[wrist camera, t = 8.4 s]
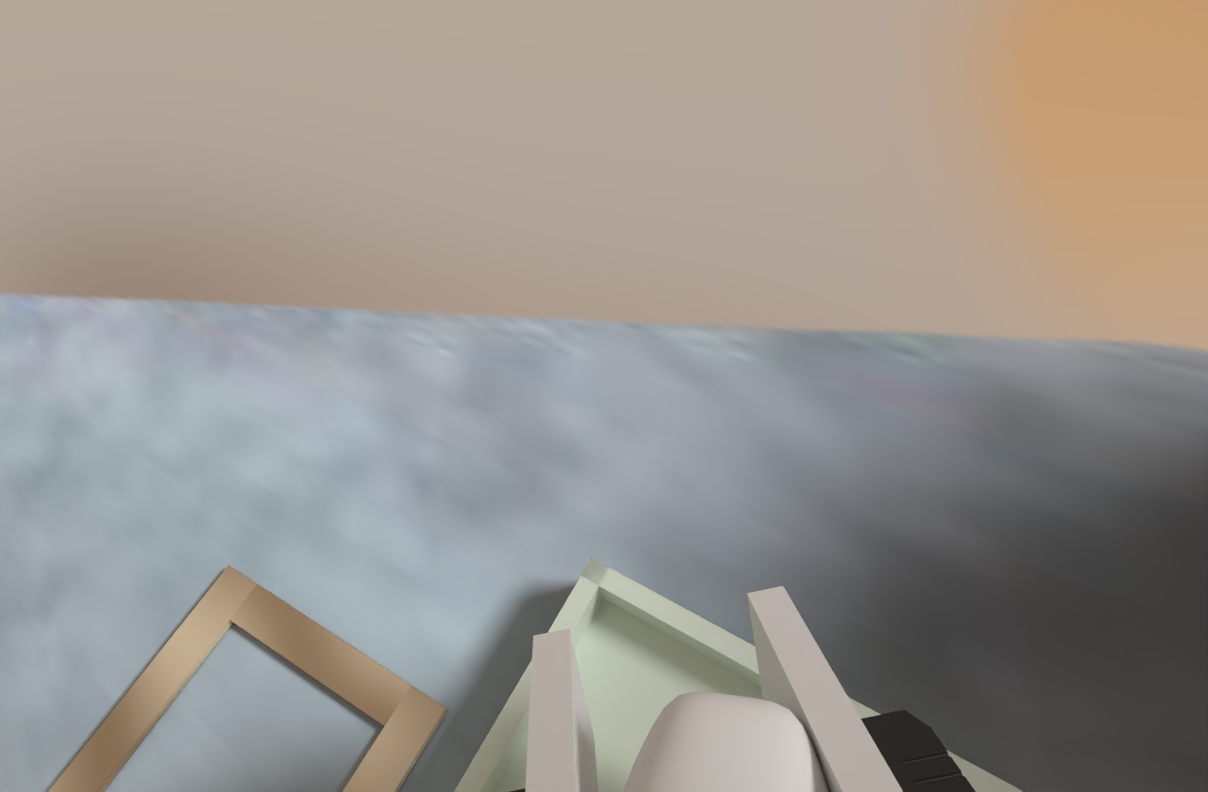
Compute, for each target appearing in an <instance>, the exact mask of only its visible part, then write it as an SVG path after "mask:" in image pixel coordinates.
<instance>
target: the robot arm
mask: <svg viewBox="0 0 1208 792" xmlns="http://www.w3.org/2000/svg"><path fill="white" fill-rule="evenodd" d="M747 597H748V603H749V610H750V616H751V623H752V630H753V636H754V643H755V649H756V656H757V662H758V669H759V676H760V682H761V689H762V695H763V700H767V701H772V702H775V703H777V704H779V705H781V706H783V707H785V708H787V709H789V710H790V711H791V712H792V713H793V714H794V715H795V717H796V718H797V719H798V720H799V721H800V723H801V724H802V725H803V727H804V729H805V731H806V733H807V735H808V737H809V739H810V741H811V743H812V745H813V748H814V750H815V753H816V755H817V758H818V760H819V763H820V765H821V768H822V771H823V774H824V777H825V780H826V783H827V786H828V789H829V792H976V791H975V790H974V788H973V787H972V786H971V784H970V783H969V781H968V780H967V779H966V777H965V776H963V775H962V772H961V770H960V769H959V767H958V766H957V764H956V763H955V762H954V760H953V759H952V757H951V756H950V757H949V755H948V752H947V750H946V749H945V747H944V746H943V745H942V743H941V742H940V740H939V739H938V737H937V736H936V735H935V733H934V732H933V730H932V729H931V728H930V727H929V726H927V725H926V724H924V723H923V722H921V721H920V720H918V719H917V718H915V717H914V716H913V715H911V714H910V713H908V712H907V711H905V710H902V711H897V712H892V713H887V714H882V715H877V716H872V717H867V718H862V719H860V717H859V715H858V713H857V712H856V710H855V708H854V707H853V705H852V703H851V701H850V700H849V698H848V696H847V695H846V693H845V691H844V689H843V688H842V686H841V684H840V683H839V681H838V679H837V677H836V676H835V674H834V672H833V671H832V669H831V667H830V665H829V664H828V662H827V660H826V659H825V657H824V655H823V653H822V652H821V650H820V648H819V647H818V645H817V643H816V641H815V640H814V638H813V636H812V635H811V633H810V631H809V629H808V628H807V626H806V624H805V623H804V621H803V619H802V617H801V616H800V614H799V612H798V611H797V609H796V607H795V605H794V604H793V602H792V600H791V599H790V597H789V595H788V593H787V592H786V590H785V588H784V587H783V586H780V587H775V588H770V589H765V590H760V591H755V592H750V593H747ZM509 792H598V782H597V768H596V754H595V740H594V735H593V731H592V726H591V722H590V717H589V713H588V708H587V704H586V699H585V695H584V690H583V686H582V681H581V677H580V672H579V668H578V663H577V659H576V654H575V650H574V645H573V641H572V636H571V632H570V628H569V629H564V630H559V631H554V632H549V633H544V634H539V635H534V636H533V651H532V671H531V690H530V709H529V729H528V748H527V768H526V787H525V788H524V789H519V790H514V791H509Z"/></svg>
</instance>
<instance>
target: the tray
mask: <svg viewBox="0 0 1208 792" xmlns="http://www.w3.org/2000/svg"><path fill="white" fill-rule="evenodd" d="M569 628H570V632H571V636H572V641H573V645H574V650H575V654H576V659H577V663H578V668H579V672H580V677H581V681H582V686H583V690H584V695H585V699H586V704H587V708H588V713H589V717H590V722H591V726H592V731H593V735H594V740H595V754H596V768H597V782H598V792H623V791H624V788H625V785H626V782H627V780H628V777H629V775H630V772H631V769H632V767H633V764H634V762H635V760H636V758H637V755H638V753H639V751H640V749H641V747H642V745H643V743H644V741H645V739H646V737H647V735H648V733H649V731H650V729H651V728H652V726H653V724H654V722H655V721H656V719H657V718H658V716H659V715H660V713H661V712H662V710H663V708H664V707H665V706H666V705H668V704H669V703H670V702H671V701H672V700H673V699H675V698H676V697H677V696H678V695H682V694H687V693H692V692H710V693H720V694H729V695H737V696H744V697H751V698H757V699H762V700H763V695H762V689H761V682H760V676H759V669H758V662H757V656H756V649H755V646H753V645H751V644H750V643H748V642H746V641H744V640H742V639H740V638H738V637H737V636H735V635H733V634H731V633H729V632H727V631H725V630H724V629H722V628H720V627H718V626H716V625H714V624H713V623H711V622H709V621H707V620H705V619H703V618H701V617H700V616H698V615H696V614H694V613H692V612H690V611H688V610H687V609H685V608H683V607H681V606H679V605H677V604H676V603H674V602H672V601H670V600H668V599H666V598H664V597H663V596H661V595H659V594H657V593H655V592H653V591H651V590H650V589H648V588H646V587H644V586H642V585H640V584H638V583H637V582H635V581H633V580H631V579H629V578H627V577H626V576H624V575H622V574H620V573H618V572H616V571H614V570H613V569H611V568H609V567H607V566H605V565H603V564H601V563H600V562H598V561H596V560H594V559H592V558H591V560H590V561H589V563H588V565H587V566H586V568H585V570H584V572H583V573H582V575H581V577H580V578H579V580H578V582H577V583H576V585H575V587H574V589H573V590H572V592H571V594H570V595H569V597H568V599H567V600H566V602H565V604H564V606H563V607H562V609H561V611H560V612H559V614H558V616H557V617H556V619H555V621H554V623H553V624H552V626H551V628H550V629H549V631H548V633H549V632H554V631H559V630H564V629H569ZM531 671H532V660H531V662H530V663H529V665H528V667H527V668H526V670H525V672H524V673H523V675H522V677H521V679H520V680H519V682H518V684H517V685H516V687H515V689H514V690H513V692H512V694H511V696H510V697H509V699H508V701H507V702H506V704H505V706H504V707H503V709H502V711H501V713H500V714H499V716H498V718H497V719H496V721H495V723H494V724H493V726H492V728H491V730H490V731H489V733H488V735H487V736H486V738H485V740H484V741H483V743H482V745H481V746H480V748H479V750H478V752H477V753H476V755H475V757H474V758H473V760H472V762H471V763H470V765H469V767H468V769H467V770H466V772H465V774H464V775H463V777H462V779H461V780H460V782H459V784H458V786H457V787H456V789H455V791H454V792H509V791H514V790H519V789H524V788H525V787H526V768H527V748H528V729H529V709H530V690H531ZM848 698H849V700H850V701H851V703H852V705H853V707H854V708H855V710H856V712H857V713H858V715H859V717H860V719H862V718H867V717H872V716H877V715H881V714H879V713H877V712H875V711H874V710H872V709H870V708H868V707H866V706H864V705H863V704H861V703H859V702H857V701H855V700H853V699H851V698H850V697H848ZM947 752H948V755H949V757H950V756H951V757H952V759H953V760H954V762H955V763H956V764H957V766H958V767H959V769H960V770H961V772H962V775H963V776H965V777H966V779H967V780H968V781H969V783H970V784H971V786H972V787H973V788H974V790H975V791H976V792H1024V791H1022V790H1020V789H1018V788H1016V787H1014V786H1012V785H1011V784H1009V783H1007V782H1005V781H1003V780H1001V779H1000V778H998V777H996V776H994V775H992V774H990V773H988V772H987V771H985V770H983V769H981V768H979V767H977V766H975V765H974V764H972V763H970V762H968V761H966V760H964V759H962V758H961V757H959V756H957V755H955V754H953V753H951V752H950V751H948V750H947Z"/></svg>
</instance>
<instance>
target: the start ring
mask: <svg viewBox="0 0 1208 792" xmlns="http://www.w3.org/2000/svg"><path fill="white" fill-rule="evenodd" d="M233 623H235V624H236V625H238V626H239V627H241V628H242V629H244V630H245V631H247V632H248V633H249V634H251V635H252V636H254V637H255V638H257V639H258V640H260V641H261V642H263V643H264V644H265V645H267V646H268V647H270V648H271V649H273V650H274V651H276V652H277V653H279V654H280V655H281V656H283V657H284V658H286V659H287V660H289V661H290V662H292V663H293V664H294V665H296V666H297V667H299V668H300V669H302V670H303V671H305V672H306V673H308V674H309V675H310V676H312V677H313V678H315V679H316V680H318V681H319V682H321V683H322V684H323V685H325V686H326V687H328V688H329V689H331V690H332V691H334V692H335V693H337V694H338V695H339V696H341V697H342V698H344V699H345V700H347V701H348V702H350V703H351V704H352V705H354V706H355V707H357V708H358V709H360V710H361V711H363V712H364V713H366V714H367V715H368V716H370V717H371V718H373V719H374V720H376V721H377V722H379V723H380V724H382V725H383V726H384V728H383V729H382V731H381V733H380V734H379V736H378V737H377V739H376V740H375V742H374V743H373V745H372V747H371V748H370V750H369V751H368V753H367V754H366V756H365V757H364V759H363V760H362V762H361V764H360V765H359V767H358V768H357V770H356V771H355V773H354V774H353V776H352V777H351V779H350V781H349V782H348V784H347V785H346V787H345V788H344V790H343V791H342V792H398V790H399V789H400V787H401V786H402V784H403V782H404V781H405V779H406V777H407V776H408V774H409V773H410V771H411V769H412V768H413V766H414V765H415V763H416V761H417V760H418V758H419V756H420V755H421V753H422V752H423V750H424V748H425V747H426V745H427V744H428V742H429V740H430V739H431V737H432V735H433V734H434V732H435V731H436V729H437V727H438V726H439V724H440V722H441V721H442V719H443V718H444V716H445V714H446V713H447V711H448V709H446V708H445V707H443V706H442V705H440V704H439V703H437V702H436V701H434V700H433V699H431V698H430V697H428V696H427V695H425V694H424V693H422V692H421V691H419V690H418V689H416V688H415V687H413V686H411V685H410V684H408V683H407V682H405V681H404V680H402V679H401V678H399V677H398V676H396V675H395V674H393V673H392V672H390V671H389V670H387V669H386V668H384V667H383V666H381V665H380V664H378V663H377V662H375V661H373V660H372V659H370V658H369V657H367V656H366V655H364V654H363V653H361V652H360V651H358V650H357V649H355V648H354V647H352V646H351V645H349V644H348V643H346V642H345V641H343V640H342V639H340V638H339V637H337V636H335V635H334V634H332V633H331V632H329V631H328V630H326V629H325V628H323V627H322V626H320V625H319V624H317V623H316V622H314V621H313V620H311V619H310V618H308V617H307V616H305V615H304V614H302V613H301V612H299V611H297V610H296V609H294V608H293V607H291V606H290V605H288V604H287V603H285V602H284V601H282V600H281V599H279V598H278V597H276V596H275V595H273V594H272V593H270V592H269V591H267V590H266V589H264V588H263V587H261V586H260V585H258V584H256V583H255V582H253V581H252V580H250V579H249V578H247V577H246V576H244V575H243V574H241V573H240V572H238V571H237V570H235V569H234V568H232V567H230V566H229V565H228V567H227V568H226V569H225V570H224V572H223V573H222V574H221V575H220V577H219V578H218V579H217V580H216V582H215V583H214V584H213V585H212V587H211V588H210V589H209V590H208V592H207V593H206V594H205V595H204V597H203V598H202V599H201V600H200V602H199V603H198V604H197V605H196V607H195V608H194V609H193V611H192V612H191V613H190V614H189V616H188V617H187V618H186V619H185V621H184V622H183V623H182V624H181V626H180V627H179V628H178V629H177V631H176V632H175V633H174V634H173V636H172V637H171V638H170V639H169V641H168V642H167V643H166V644H165V646H164V647H163V648H162V649H161V651H160V652H159V653H158V654H157V656H156V657H155V658H154V659H153V661H152V662H151V663H150V664H149V666H148V667H147V668H146V669H145V671H144V672H143V673H142V674H141V676H140V677H139V678H138V679H137V681H136V682H135V683H134V684H133V686H132V687H131V688H130V689H129V691H128V692H127V693H126V694H125V696H124V697H123V698H122V699H121V701H120V702H119V703H118V704H117V706H116V707H115V708H114V710H113V711H112V712H111V713H110V715H109V716H108V717H107V718H106V720H105V721H104V722H103V723H102V725H101V726H100V727H99V728H98V730H97V731H96V732H95V733H94V735H93V736H92V737H91V738H90V740H89V741H88V742H87V743H86V745H85V746H84V747H83V748H82V750H81V751H80V752H79V753H78V755H77V756H76V757H75V758H74V760H73V761H72V762H71V763H70V765H69V766H68V767H67V768H66V770H65V771H64V772H63V773H62V775H61V776H60V777H59V778H58V780H57V781H56V782H55V783H54V785H53V786H52V787H51V788H50V790H49V791H48V792H104V790H105V789H106V788H107V786H108V785H109V784H110V782H111V781H112V780H113V779H114V777H115V776H116V775H117V773H118V772H119V771H120V769H121V768H122V767H123V766H124V764H125V763H126V762H127V760H128V759H129V758H130V756H131V755H132V754H133V753H134V751H135V750H136V749H137V747H138V746H139V745H140V743H141V742H142V741H143V740H144V738H145V737H146V736H147V734H148V733H149V732H150V730H151V729H152V728H153V727H154V725H155V724H156V723H157V721H158V720H159V719H160V717H161V716H162V715H163V714H164V712H165V711H166V710H167V708H168V707H169V706H170V704H171V703H172V702H173V701H174V699H175V698H176V697H177V695H178V694H179V693H180V691H181V690H182V689H183V688H184V686H185V685H186V684H187V682H188V681H189V680H190V678H191V677H192V676H193V675H194V673H195V672H196V671H197V669H198V668H199V667H200V666H201V664H202V663H203V662H204V660H205V659H206V658H207V656H208V655H209V654H210V653H211V651H212V650H213V649H214V647H215V646H216V645H217V643H218V642H219V641H220V640H221V638H222V637H223V636H224V634H225V633H226V632H227V630H228V629H229V628H230V627H231V625H232V624H233Z"/></svg>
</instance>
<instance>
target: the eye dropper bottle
mask: <svg viewBox="0 0 1208 792" xmlns="http://www.w3.org/2000/svg"><path fill="white" fill-rule="evenodd" d="M623 792H829V789H828V786H827V783H826V780H825V777H824V774H823V771H822V768H821V765H820V763H819V760H818V758H817V755H816V753H815V750H814V748H813V745H812V743H811V741H810V739H809V737H808V735H807V733H806V731H805V729H804V727H803V725H802V724H801V723H800V721H799V720H798V719H797V718H796V717H795V715H794V714H793V713H792V712H791V711H790V710H789V709H787V708H785V707H783V706H781V705H779V704H777V703H775V702H772V701H767V700H762V699H757V698H751V697H744V696H737V695H729V694H720V693H710V692H692V693H687V694H682V695H678V696H677V697H676V698H675V699H673V700H672V701H671V702H670V703H669V704H668V705H666V706H665V707H664V708H663V710H662V712H661V713H660V715H659V716H658V718H657V719H656V721H655V722H654V724H653V726H652V728H651V729H650V731H649V733H648V735H647V737H646V739H645V741H644V743H643V745H642V747H641V749H640V751H639V753H638V755H637V758H636V760H635V762H634V764H633V767H632V769H631V772H630V775H629V777H628V780H627V782H626V785H625V788H624V791H623Z"/></svg>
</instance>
